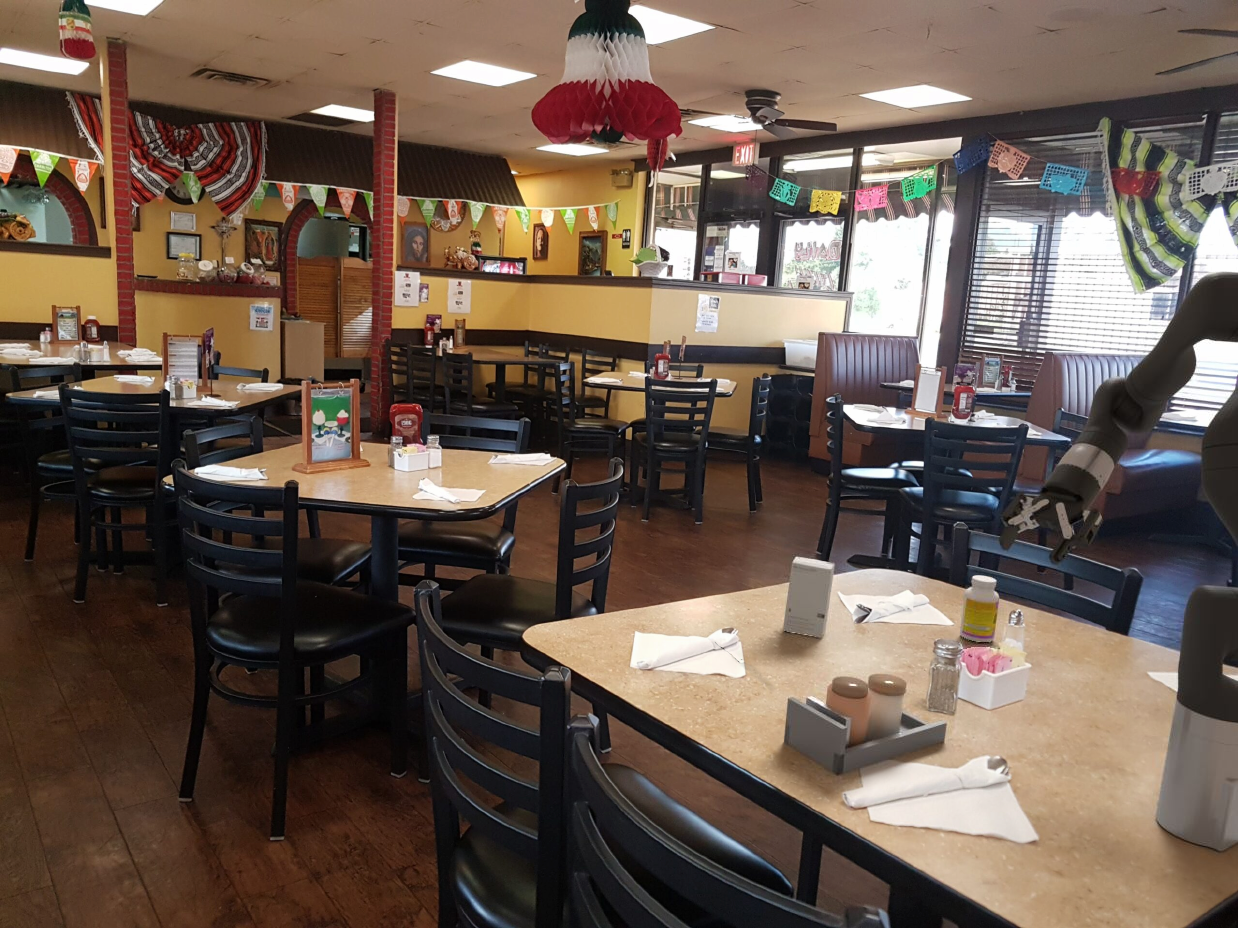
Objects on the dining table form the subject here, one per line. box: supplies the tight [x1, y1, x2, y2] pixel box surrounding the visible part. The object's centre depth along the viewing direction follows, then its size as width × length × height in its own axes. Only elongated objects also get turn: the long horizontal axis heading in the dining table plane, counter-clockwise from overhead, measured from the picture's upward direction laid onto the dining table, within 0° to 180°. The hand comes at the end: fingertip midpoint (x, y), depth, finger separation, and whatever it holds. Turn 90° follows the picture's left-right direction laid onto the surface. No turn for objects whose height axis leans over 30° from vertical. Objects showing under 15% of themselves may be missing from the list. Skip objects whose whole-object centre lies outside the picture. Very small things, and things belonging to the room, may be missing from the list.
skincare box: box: [782, 556, 836, 639], centre depth 188 cm, size 8×6×15 cm
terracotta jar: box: [825, 675, 872, 748], centre depth 137 cm, size 6×6×10 cm
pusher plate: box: [805, 695, 851, 749], centre depth 135 cm, size 8×2×7 cm, turn 33°
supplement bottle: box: [959, 574, 1000, 643], centre depth 190 cm, size 7×7×13 cm
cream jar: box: [867, 673, 908, 741], centre depth 141 cm, size 6×6×9 cm
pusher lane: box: [783, 696, 948, 776], centre depth 140 cm, size 11×23×8 cm, turn 123°
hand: (1027, 554), depth 145 cm, fingers open, 8 cm apart
